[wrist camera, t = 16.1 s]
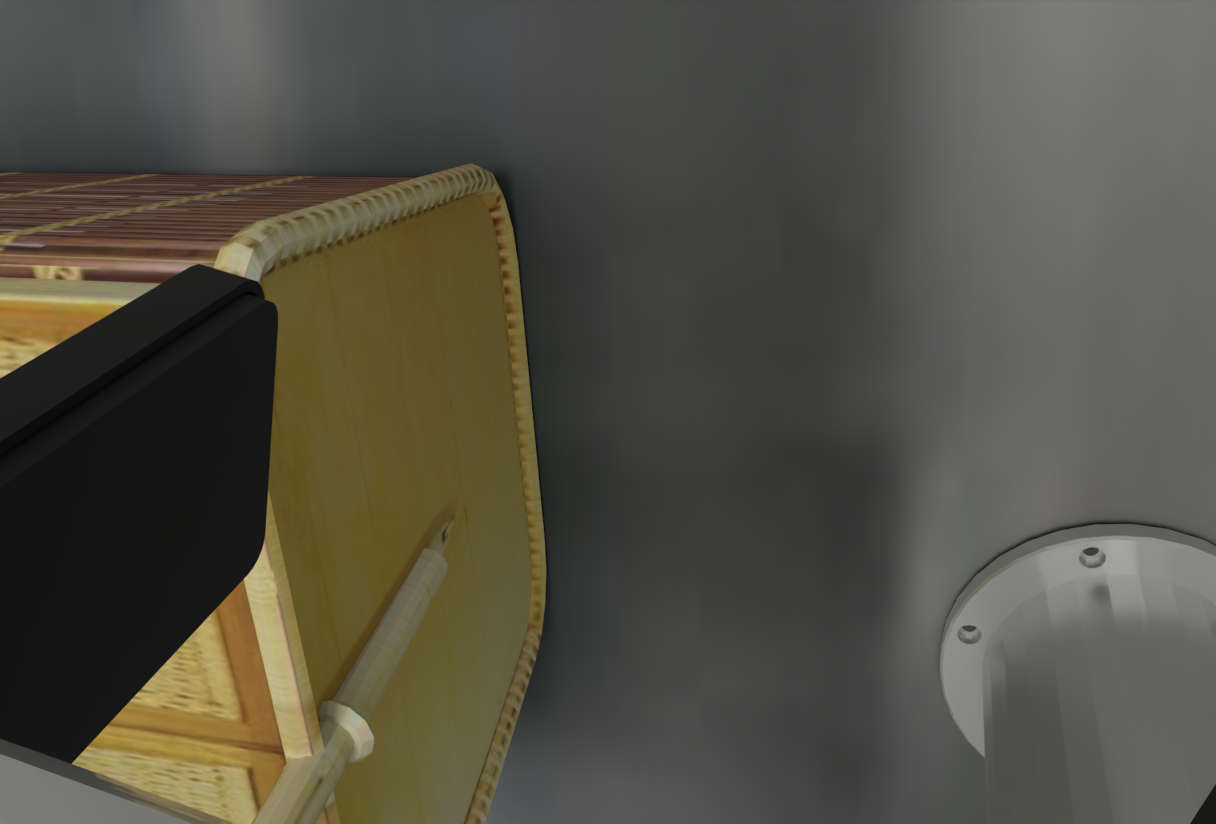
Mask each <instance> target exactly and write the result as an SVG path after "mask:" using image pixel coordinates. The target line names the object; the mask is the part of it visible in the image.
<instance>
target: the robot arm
mask: <svg viewBox="0 0 1216 824" xmlns="http://www.w3.org/2000/svg"><path fill="white" fill-rule="evenodd" d="M277 335H278V311H277V307H276V305H275V304H274V303H273V302H271V301H268V300H265V295H264V292H263V289H262V286H261V285H260V284H259V283H258V282H257V281H255V280H251V279H248V278H245V277H241V276H238V275H235V274H232V273H228V272H225V271H222V270H219V269H215V268H212V267H209V266H205V265H201V264H197V265H194V266H191V267H189V268H187V269H185V270H184V271H182V272H180V273H179V274H177V275H175V276H174V277H172V278H170V279H168V280H167V281H165V282H163V283H162V284H160V285H158V286H156V287H155V288H153V289H151V290H150V291H148V292H146V293H145V294H143V295H141V296H139V297H138V298H136V299H134V300H133V301H131V302H129V303H128V304H126V305H124V306H122V307H121V308H119V309H117V310H116V311H114V312H112V313H111V314H109V315H107V316H105V317H104V318H102V319H100V320H99V321H97V322H95V323H94V324H92V325H90V326H88V327H87V328H85V329H83V330H82V331H80V332H78V333H77V334H75V335H73V336H71V337H70V338H68V339H66V340H65V341H63V342H61V343H60V344H58V345H56V346H54V347H53V348H51V349H49V350H48V351H46V352H44V353H43V354H41V355H39V356H37V357H36V358H34V359H32V360H31V361H29V362H27V363H26V364H24V365H22V366H20V367H19V368H17V369H15V370H14V371H12V372H10V373H8V374H7V375H5V376H3V377H2V378H0V824H235V823H232V822H229V821H227V820H224V819H221V818H218V817H216V816H213V815H210V814H207V813H205V812H202V811H199V810H197V809H194V808H191V807H188V806H186V805H183V804H180V803H177V802H175V801H172V800H169V799H167V798H164V797H161V796H158V795H156V794H153V793H150V792H148V791H145V790H142V789H139V788H137V787H134V786H131V785H128V784H126V783H123V782H120V781H118V780H115V779H112V778H109V777H107V776H104V775H101V774H99V773H96V772H93V771H90V770H87V769H84V768H82V767H79V766H76V765H73V764H72V763H73V762H74V761H75V760H76V758H77V757H78V756H79V755H80V754H81V753H82V752H83V751H84V750H85V749H86V748H87V747H88V746H89V745H90V743H91V742H92V741H93V740H94V739H95V738H96V737H97V736H98V735H99V734H100V733H101V732H102V731H103V730H104V728H105V727H106V726H107V725H108V724H109V723H110V722H111V721H112V720H113V719H114V718H115V717H116V716H117V714H118V713H119V712H120V711H121V710H122V709H123V708H124V707H125V706H126V705H127V704H128V703H129V702H130V701H131V699H132V698H133V697H134V696H135V695H136V694H137V693H138V692H139V691H140V690H141V689H142V688H143V687H144V686H145V684H146V683H147V682H148V681H149V680H150V679H151V678H152V677H153V676H154V675H155V674H156V673H157V672H158V671H159V669H160V668H161V667H162V666H163V665H164V664H165V663H166V662H167V661H168V660H169V659H170V658H171V657H172V656H173V654H174V653H175V652H176V651H177V650H178V649H179V648H180V647H181V646H182V645H183V644H184V643H185V642H186V640H187V639H188V638H189V637H190V636H191V635H192V634H193V633H194V632H195V631H196V630H197V629H198V628H199V627H200V625H201V624H202V623H203V622H204V621H205V620H206V619H207V618H208V617H209V616H210V615H211V614H212V613H213V612H214V610H215V609H216V608H217V607H218V606H219V605H220V604H221V603H222V602H223V601H224V600H225V599H226V598H227V597H228V595H229V594H230V593H231V592H232V591H233V590H234V589H235V588H236V587H237V586H238V585H239V584H240V583H241V582H242V580H243V579H244V578H245V577H246V576H247V575H248V574H249V573H250V571H251V570H252V569H253V567H254V566H255V564H256V562H257V560H258V558H259V556H260V553H261V551H262V548H263V544H264V540H265V533H266V516H267V500H268V483H269V467H270V450H271V434H272V417H273V401H274V384H275V368H276V351H277ZM1089 547H1094V548H1092V549H1087V548H1089ZM940 677H941V685H942V692H943V696H944V699H945V701H946V704H947V707H948V709H949V712H950V714H951V717H952V719H953V721H954V722H955V724H956V725H957V727H958V728H959V730H960V731H961V733H962V734H963V736H964V737H965V739H966V740H967V741H968V742H969V743H970V745H971V746H972V747H973V748H974V749H975V750H976V751H977V752H978V753H979V754H980V755H981V756H982V757H983V758H984V759H985V782H986V812H987V824H1216V546H1215V545H1213V544H1211V543H1209V542H1207V541H1205V540H1203V539H1199V538H1196V537H1193V536H1189V535H1186V534H1183V533H1180V532H1176V531H1173V530H1170V529H1164V528H1157V527H1150V526H1143V525H1135V524H1096V525H1089V526H1083V527H1077V528H1071V529H1065V530H1060V531H1057V532H1054V533H1051V534H1048V535H1045V536H1042V537H1039V538H1036V539H1033V540H1030V541H1027V542H1025V543H1024V544H1022V545H1020V546H1018V547H1016V548H1014V549H1012V550H1011V551H1009V552H1007V553H1005V554H1003V555H1001V556H999V557H998V558H997V559H996V560H994V561H993V562H992V563H991V564H989V565H988V566H987V567H986V568H984V569H983V570H982V571H981V572H979V573H978V574H977V575H976V576H975V577H974V578H973V579H972V581H971V582H970V583H969V584H968V585H967V587H966V588H965V589H964V590H963V591H962V593H961V594H960V595H959V596H958V598H957V600H956V602H955V604H954V606H953V608H952V610H951V612H950V614H949V616H948V617H947V619H946V623H945V627H944V631H943V635H942V640H941V644H940Z"/></svg>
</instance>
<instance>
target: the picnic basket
mask: <svg viewBox="0 0 1216 824" xmlns="http://www.w3.org/2000/svg"><path fill="white" fill-rule="evenodd" d="M197 264H201V265H205V266H209V267H212V268H215V269H219V270H222V271H225V272H228V273H232V274H235V275H238V276H241V277H245V278H248V279H251V280H255V281H257V282H258V283H259V284H260V285H261V286H262V289H263V292H264V295H265V300H268V301H271V302H273V303H274V304H275V305H276V307H277V311H278V335H277V351H276V368H275V384H274V401H273V417H272V434H271V450H270V467H269V483H268V500H267V516H266V533H265V540H264V544H263V548H262V551H261V553H260V556H259V558H258V560H257V562H256V564H255V566H254V567H253V569H252V570H251V571H250V573H249V574H248V575H247V576H246V577H245V578H244V579H243V580H242V582H241V583H240V584H239V585H238V586H237V587H236V588H235V589H234V590H233V591H232V592H231V593H230V594H229V595H228V597H227V598H226V599H225V600H224V601H223V602H222V603H221V604H220V605H219V606H218V607H217V608H216V609H215V610H214V612H213V613H212V614H211V615H210V616H209V617H208V618H207V619H206V620H205V621H204V622H203V623H202V624H201V625H200V627H199V628H198V629H197V630H196V631H195V632H194V633H193V634H192V635H191V636H190V637H189V638H188V639H187V640H186V642H185V643H184V644H183V645H182V646H181V647H180V648H179V649H178V650H177V651H176V652H175V653H174V654H173V656H172V657H171V658H170V659H169V660H168V661H167V662H166V663H165V664H164V665H163V666H162V667H161V668H160V669H159V671H158V672H157V673H156V674H155V675H154V676H153V677H152V678H151V679H150V680H149V681H148V682H147V683H146V684H145V686H144V687H143V688H142V689H141V690H140V691H139V692H138V693H137V694H136V695H135V696H134V697H133V698H132V699H131V701H130V702H129V703H128V704H127V705H126V706H125V707H124V708H123V709H122V710H121V711H120V712H119V713H118V714H117V716H116V717H115V718H114V719H113V720H112V721H111V722H110V723H109V724H108V725H107V726H106V727H105V728H104V730H103V731H102V732H101V733H100V734H99V735H98V736H97V737H96V738H95V739H94V740H93V741H92V742H91V743H90V745H89V746H88V747H87V748H86V749H85V750H84V751H83V752H82V753H81V754H80V755H79V756H78V757H77V758H76V760H75V761H74V762H73V763H72V764H73V765H76V766H79V767H82V768H84V769H87V770H90V771H93V772H96V773H99V774H101V775H104V776H107V777H109V778H112V779H115V780H118V781H120V782H123V783H126V784H128V785H131V786H134V787H137V788H139V789H142V790H145V791H148V792H150V793H153V794H156V795H158V796H161V797H164V798H167V799H169V800H172V801H175V802H177V803H180V804H183V805H186V806H188V807H191V808H194V809H197V810H199V811H202V812H205V813H207V814H210V815H213V816H216V817H218V818H221V819H224V820H227V821H229V822H232V823H235V824H485V823H486V820H487V817H488V814H489V810H490V807H491V804H492V801H493V797H494V794H495V791H496V788H497V784H498V781H499V778H500V774H501V771H502V768H503V765H504V761H505V758H506V755H507V752H508V748H509V745H510V742H511V739H512V735H513V732H514V729H515V726H516V722H517V719H518V716H519V713H520V709H521V706H522V703H523V700H524V696H525V693H526V690H527V687H528V683H529V680H530V677H531V673H532V670H533V667H534V664H535V660H536V657H537V653H538V648H539V644H540V639H541V635H542V627H543V618H544V610H545V595H546V555H545V537H544V527H543V517H542V506H541V496H540V486H539V475H538V465H537V455H536V444H535V434H534V424H533V413H532V403H531V393H530V382H529V372H528V362H527V351H526V341H525V331H524V320H523V310H522V300H521V289H520V279H519V269H518V260H517V253H516V246H515V239H514V232H513V227H512V224H511V220H510V216H509V213H508V209H507V205H506V202H505V198H504V195H503V193H502V191H501V189H500V187H499V185H498V183H497V181H496V179H495V177H494V175H493V173H491V172H489V171H487V170H485V169H483V168H481V167H479V166H476V165H474V164H472V163H469V164H465V165H462V166H458V167H455V168H451V169H447V170H444V171H440V172H436V173H433V174H429V175H425V176H422V177H348V176H265V175H183V174H100V173H18V172H0V378H2V377H3V376H5V375H7V374H8V373H10V372H12V371H14V370H15V369H17V368H19V367H20V366H22V365H24V364H26V363H27V362H29V361H31V360H32V359H34V358H36V357H37V356H39V355H41V354H43V353H44V352H46V351H48V350H49V349H51V348H53V347H54V346H56V345H58V344H60V343H61V342H63V341H65V340H66V339H68V338H70V337H71V336H73V335H75V334H77V333H78V332H80V331H82V330H83V329H85V328H87V327H88V326H90V325H92V324H94V323H95V322H97V321H99V320H100V319H102V318H104V317H105V316H107V315H109V314H111V313H112V312H114V311H116V310H117V309H119V308H121V307H122V306H124V305H126V304H128V303H129V302H131V301H133V300H134V299H136V298H138V297H139V296H141V295H143V294H145V293H146V292H148V291H150V290H151V289H153V288H155V287H156V286H158V285H160V284H162V283H163V282H165V281H167V280H168V279H170V278H172V277H174V276H175V275H177V274H179V273H180V272H182V271H184V270H185V269H187V268H189V267H191V266H194V265H197Z"/></svg>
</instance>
